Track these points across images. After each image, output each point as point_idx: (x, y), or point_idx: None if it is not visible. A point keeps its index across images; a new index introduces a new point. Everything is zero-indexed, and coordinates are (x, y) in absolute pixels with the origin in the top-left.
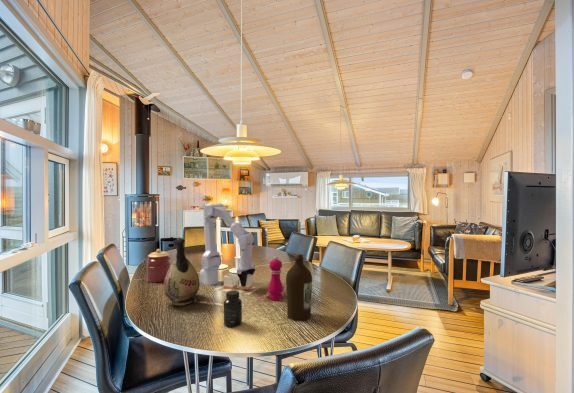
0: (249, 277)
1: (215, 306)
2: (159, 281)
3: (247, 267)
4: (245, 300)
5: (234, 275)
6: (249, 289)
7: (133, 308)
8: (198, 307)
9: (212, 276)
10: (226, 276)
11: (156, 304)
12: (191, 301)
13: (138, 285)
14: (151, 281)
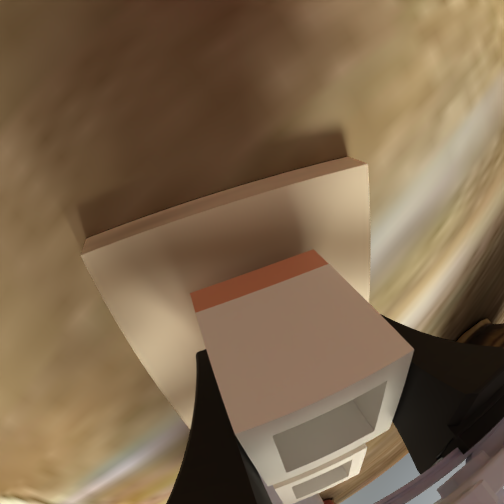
0: (372, 361)
1: (491, 226)
2: (323, 501)
3: (501, 490)
4: (402, 142)
5: (291, 486)
6: None
7: None
8: (497, 269)
9: (311, 499)
10: (353, 471)
11: None
12: (476, 328)
13: (360, 486)
14: (333, 501)
